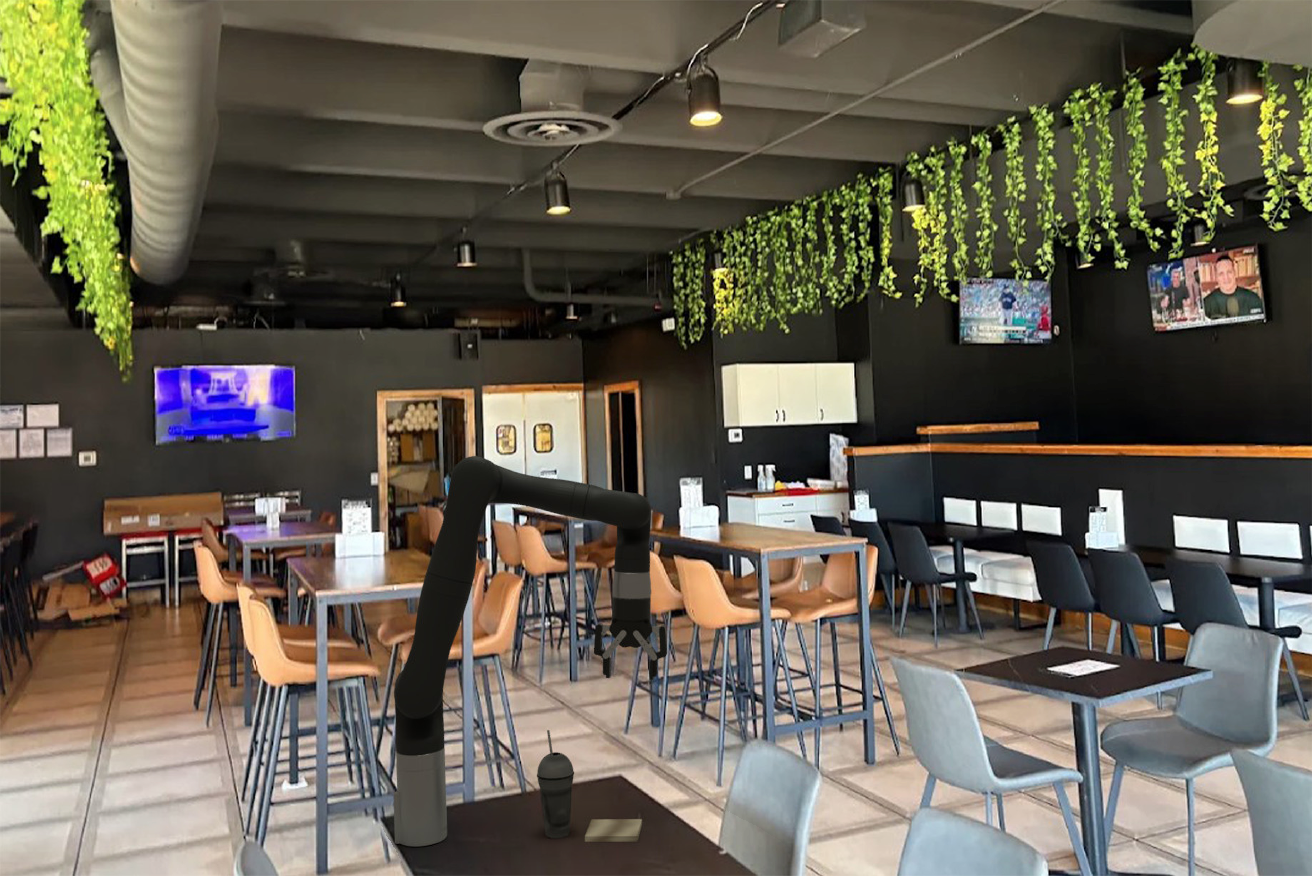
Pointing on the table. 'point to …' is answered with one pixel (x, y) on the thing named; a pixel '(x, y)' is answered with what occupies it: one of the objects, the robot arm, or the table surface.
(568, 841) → the table surface
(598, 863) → the table surface
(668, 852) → the table surface
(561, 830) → the beverage cup
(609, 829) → the birch coaster
